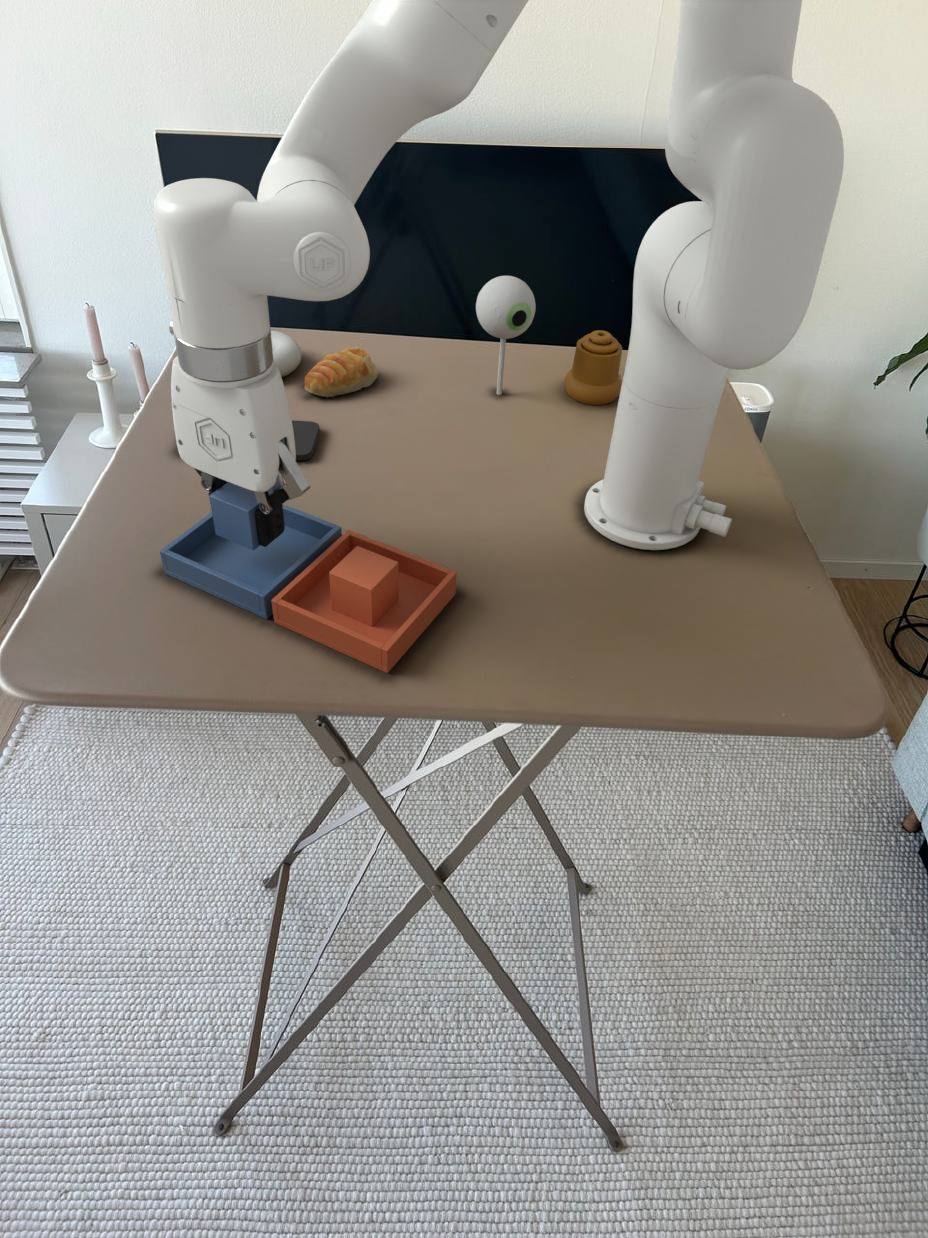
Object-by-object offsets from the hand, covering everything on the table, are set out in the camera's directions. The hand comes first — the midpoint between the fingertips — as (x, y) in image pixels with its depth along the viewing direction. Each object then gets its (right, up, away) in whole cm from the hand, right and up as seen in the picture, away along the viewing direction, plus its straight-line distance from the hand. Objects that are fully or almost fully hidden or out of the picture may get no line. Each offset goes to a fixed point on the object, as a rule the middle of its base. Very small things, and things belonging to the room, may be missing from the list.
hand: (249, 527), depth 84 cm
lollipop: (+25, +20, +30) cm, 44 cm away
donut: (-6, +24, +32) cm, 40 cm away
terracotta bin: (+11, -8, -1) cm, 14 cm away
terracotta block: (+11, -7, -2) cm, 13 cm away
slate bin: (0, -3, +3) cm, 4 cm away
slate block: (0, 0, 0) cm, 0 cm away
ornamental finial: (+37, +21, +31) cm, 52 cm away
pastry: (+5, +21, +29) cm, 37 cm away
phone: (-4, +12, +18) cm, 22 cm away
